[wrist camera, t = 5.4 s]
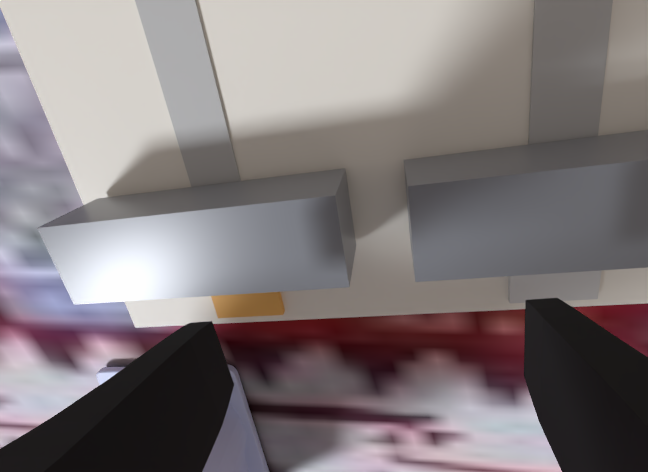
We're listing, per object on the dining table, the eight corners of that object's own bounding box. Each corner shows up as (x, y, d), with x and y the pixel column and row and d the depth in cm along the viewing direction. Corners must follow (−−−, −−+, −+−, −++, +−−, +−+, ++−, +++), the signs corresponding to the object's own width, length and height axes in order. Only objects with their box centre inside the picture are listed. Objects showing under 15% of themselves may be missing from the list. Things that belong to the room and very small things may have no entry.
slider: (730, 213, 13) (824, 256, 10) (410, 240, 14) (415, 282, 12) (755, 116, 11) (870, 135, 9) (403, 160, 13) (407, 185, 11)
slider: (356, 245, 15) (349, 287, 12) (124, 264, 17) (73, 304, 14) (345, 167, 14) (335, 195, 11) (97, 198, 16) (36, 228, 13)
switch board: (712, 284, 15) (740, 303, 14) (147, 314, 20) (131, 331, 18) (913, -491, 8) (1005, -584, 7) (-42, -153, 13) (-85, -175, 11)
